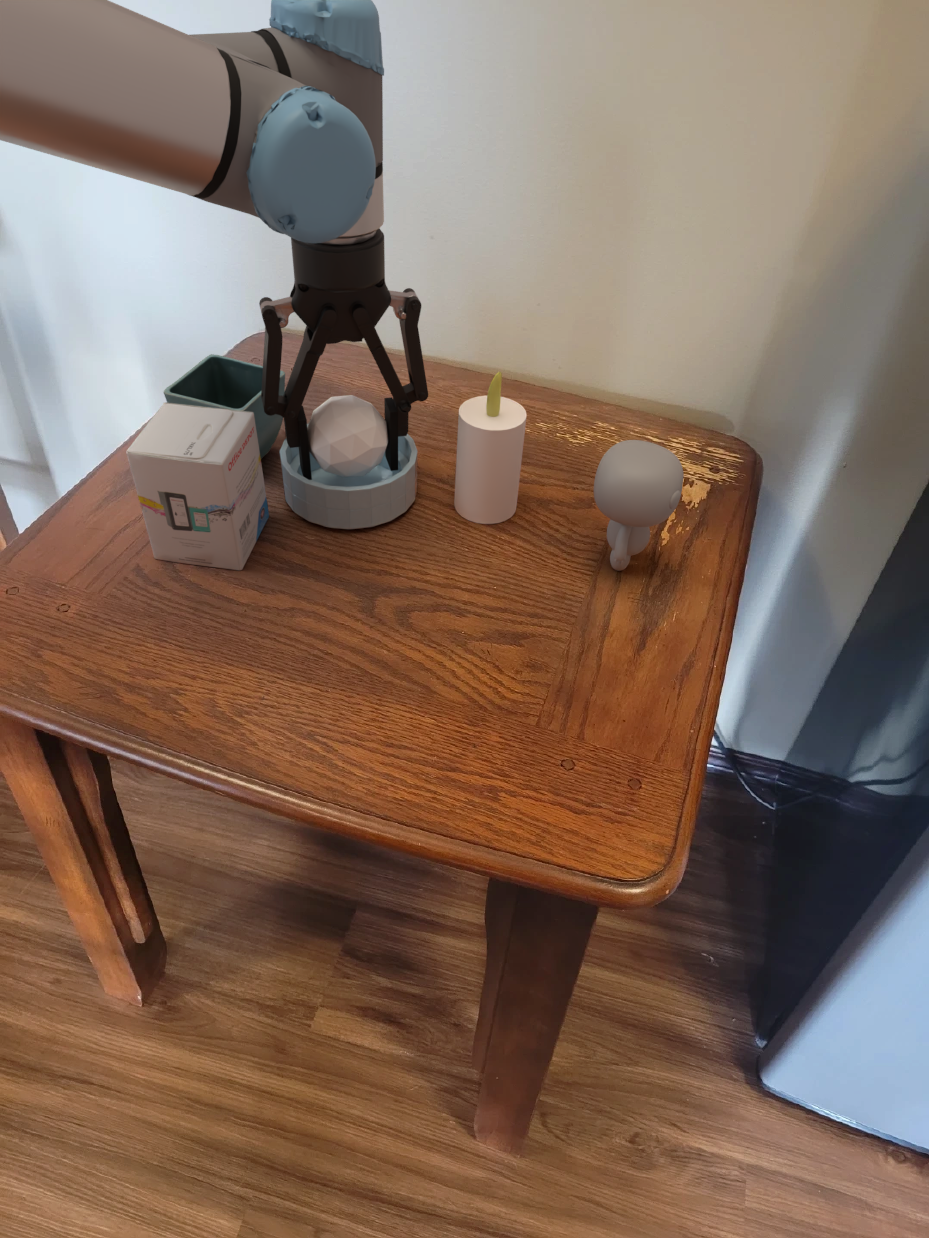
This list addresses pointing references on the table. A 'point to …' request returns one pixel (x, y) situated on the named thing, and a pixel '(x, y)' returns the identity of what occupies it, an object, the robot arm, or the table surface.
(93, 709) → the table surface
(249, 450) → the ink box
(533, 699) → the table surface
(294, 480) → the bowl
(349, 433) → the geometric ball
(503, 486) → the candle
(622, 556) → the figurine
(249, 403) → the flower pot
